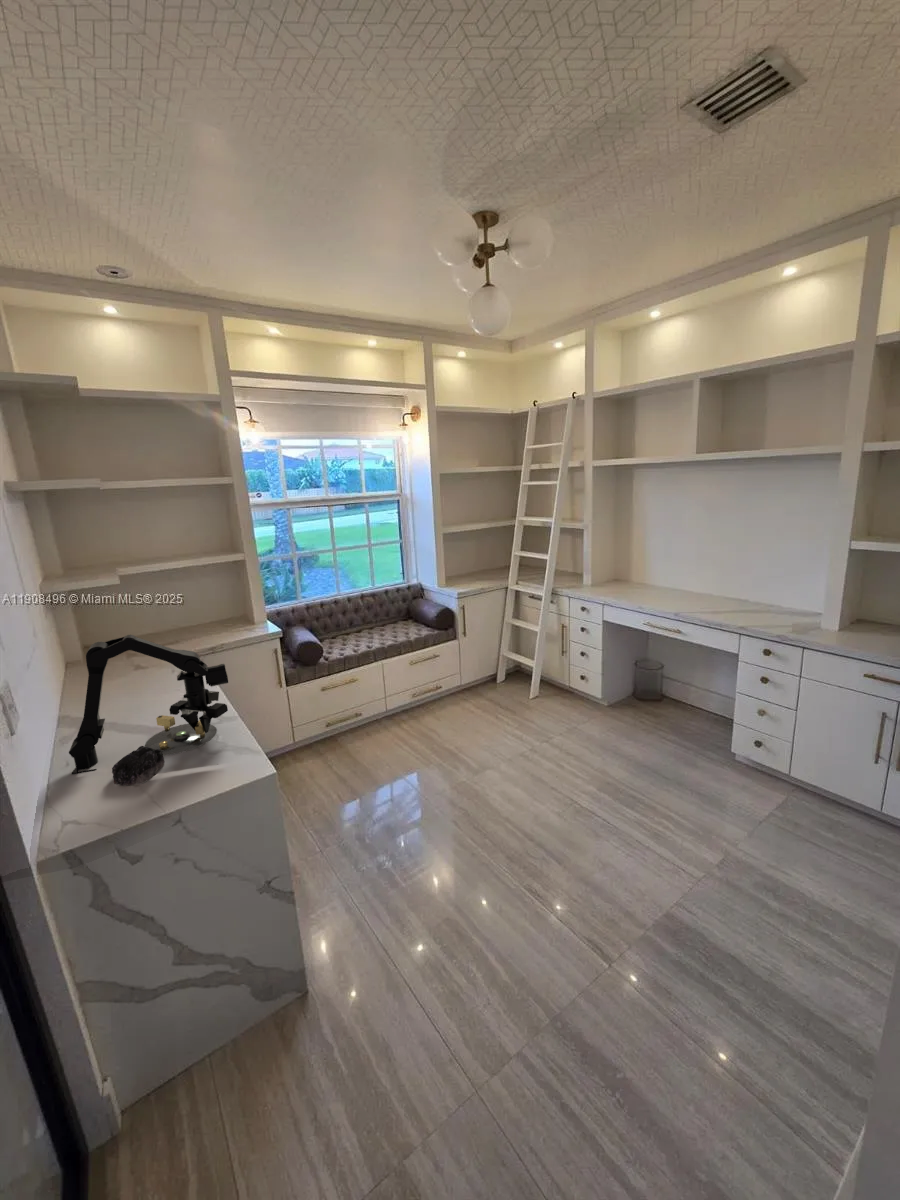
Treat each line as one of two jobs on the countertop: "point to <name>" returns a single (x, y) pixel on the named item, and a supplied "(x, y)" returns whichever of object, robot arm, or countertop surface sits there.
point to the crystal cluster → (138, 766)
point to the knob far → (165, 722)
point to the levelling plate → (179, 739)
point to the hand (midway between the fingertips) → (202, 731)
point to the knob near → (199, 729)
